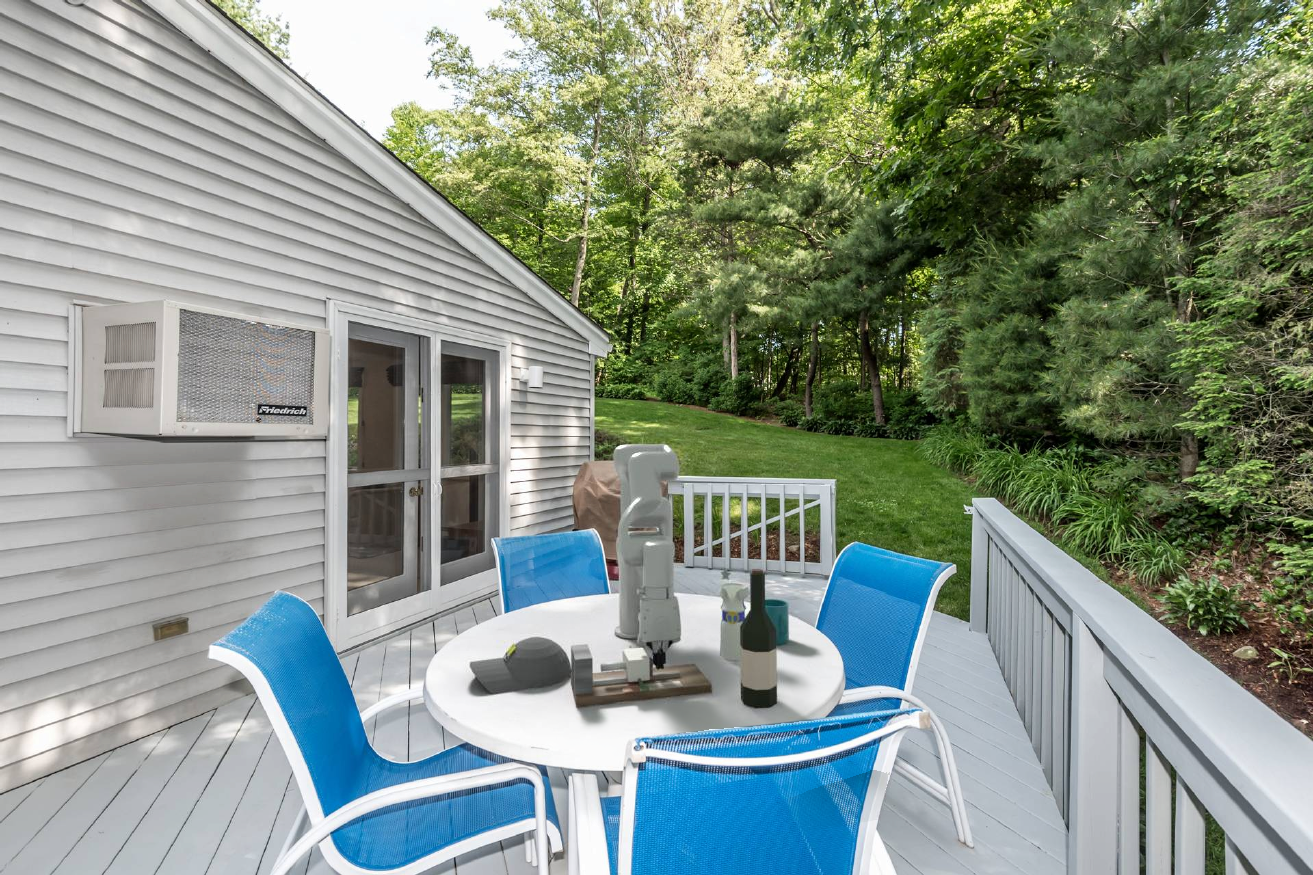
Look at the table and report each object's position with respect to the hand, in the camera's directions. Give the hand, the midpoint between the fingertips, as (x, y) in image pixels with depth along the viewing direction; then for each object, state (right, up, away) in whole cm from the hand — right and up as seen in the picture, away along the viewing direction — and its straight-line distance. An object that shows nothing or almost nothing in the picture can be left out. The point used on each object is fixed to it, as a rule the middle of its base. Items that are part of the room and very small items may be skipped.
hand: (659, 666), depth 148 cm
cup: (+35, -5, +32) cm, 47 cm away
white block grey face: (-8, -1, -3) cm, 8 cm away
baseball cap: (-35, -6, +7) cm, 36 cm away
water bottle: (+21, -5, +20) cm, 30 cm away
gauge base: (-5, -5, -1) cm, 7 cm away
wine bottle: (+23, -5, -9) cm, 25 cm away
